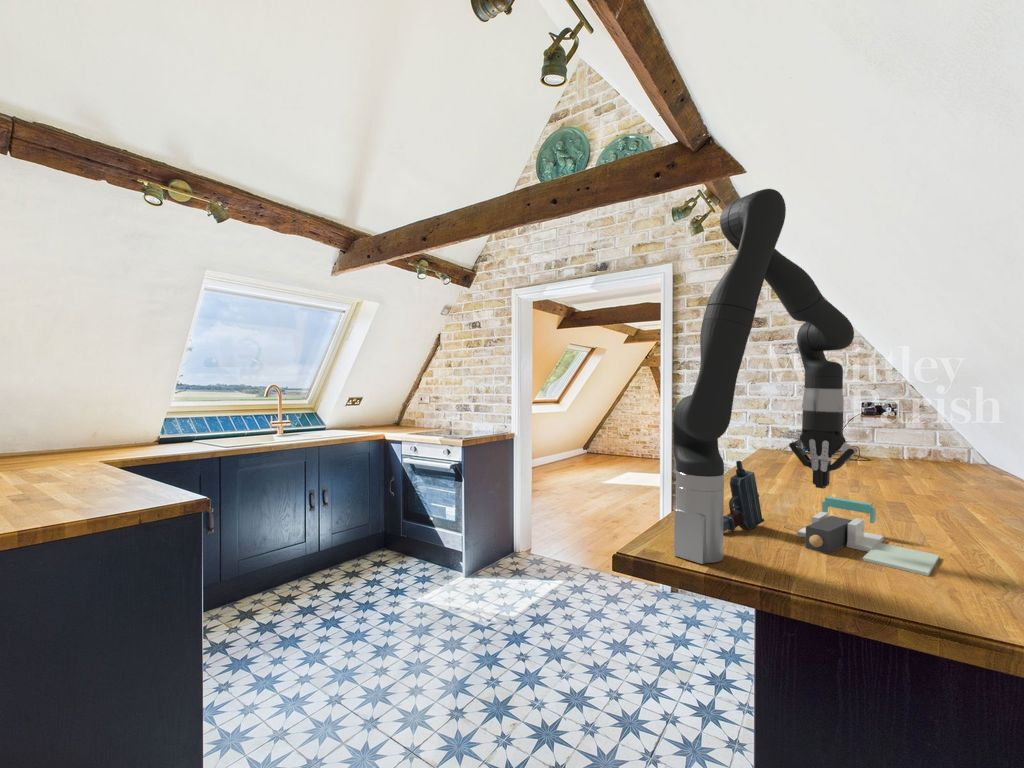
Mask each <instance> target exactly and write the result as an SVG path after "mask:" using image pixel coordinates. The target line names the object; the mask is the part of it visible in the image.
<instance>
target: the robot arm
mask: <svg viewBox="0 0 1024 768" xmlns="http://www.w3.org/2000/svg"><path fill="white" fill-rule="evenodd" d="M785 201H786V200H785V199H784V196H783V194H781V193H780V191H778V190H776V189H773V188H764V189H761V190H757V191H754V192H751V193H750V194H747V195H744V196H743V197H740V198H738V199H736V200H733V201H732V202H729V203H728V204H727V205H725V207H723V209H722V211H721V214H720V218H719V226H720V229H721V232H722V234H723V236H724V237H725V238H726V239H727V241H728V242H729V243H730V244H731V245H732V247H734V248H735V250H736V254H735V256H734V258H733V260H732V262H731V264H730V265H729V267H728V268H727V270H726V271H725V273H724V274H723V275H722V277H721V278H720V280H719V281H718V282H717V284H716V285H715V287H714V288H713V290H712V292H711V294H710V296H709V298H708V300H707V303H706V306H705V310H704V314H703V318H702V323H701V327H700V339H699V340H700V342H699V345H700V346H699V347H700V365H699V366H700V367H699V371H698V375H697V379H696V381H695V385H694V388H693V390H692V394H689V395H687V396H684V397H683V398H681V400H679V401H678V402H677V404H675V407H674V411H673V415H672V416H673V417H672V418H673V419H672V426H673V427H672V438H673V439H672V441H673V444H672V445H673V447H672V448H673V455H674V459H675V471H676V472H675V510H674V514H673V515H674V517H673V519H674V520H673V521H674V522H673V523H674V525H673V529H674V530H673V532H674V533H673V537H674V538H673V556H675V557H678V558H681V559H684V560H687V561H691V562H694V563H697V564H700V565H704V564H711V563H712V564H713V563H719V562H721V561H723V560H724V532H723V516H725V515H724V510H725V509H724V506H725V504H724V503H725V502H724V499H725V498H724V494H725V493H724V492H725V491H724V489H725V462H724V460H723V458H722V456H721V454H720V453H721V452H720V450H719V438H721V437H722V436H724V434H725V433H726V431H727V430H728V428H729V426H730V423H731V418H732V412H733V405H734V397H735V391H736V385H737V380H738V375H739V371H740V368H741V364H742V362H743V358H744V354H745V351H746V348H747V343H748V340H749V337H750V334H751V331H752V327H753V323H754V319H755V315H756V311H757V306H758V302H759V298H760V295H761V291H762V289H763V288H762V287H763V284H764V282H766V283H767V284H768V286H769V287H770V288H771V289H772V290H773V292H774V293H775V294H776V296H777V297H778V299H779V300H780V303H781V304H782V305H783V307H784V309H785V310H786V312H787V313H788V315H789V316H790V317H791V318H792V319H793V320H795V321H797V322H804V323H803V324H801V326H800V327H799V329H798V331H797V334H796V343H797V348H798V351H799V355H800V358H801V362H802V365H803V368H804V386H803V387H804V390H803V397H802V404H801V408H802V423H801V426H802V427H801V433H800V434H799V437H798V438H799V439H797V440H795V441H793V442H789V444H788V447H789V448H790V450H791V451H792V452H793V453H794V455H795V456H796V458H798V461H800V462H801V464H802V465H803V467H808V468H810V469H811V470H812V485H815V486H814V487H815V488H817V489H823V490H824V489H826V488H827V487H828V486H829V485H830V477H831V476H830V475H831V473H830V472H832V471H836V470H839V469H841V468H842V467H843V466H844V465H845V464H846V463H847V462H848V461H849V460H850V459H851V458H852V457H854V455H856V453H857V452H858V449H856V448H855V447H852V446H850V445H849V444H847V443H846V441H847V440H846V438H845V437H844V407H845V406H844V405H845V402H844V401H845V400H844V391H843V389H844V387H843V385H844V369H843V365H842V364H841V363H839V362H836V361H830V360H828V359H827V358H826V354H825V352H826V351H827V352H829V351H840V350H844V349H847V348H848V347H849V346H851V344H852V343H853V340H854V338H855V331H854V329H855V328H854V327H853V324H852V323H851V321H850V320H849V319H848V317H847V316H846V315H845V314H844V313H842V312H841V310H839V309H838V308H837V307H835V306H834V305H833V304H832V303H831V302H830V301H828V300H827V299H826V298H824V296H823V294H822V293H821V291H820V289H819V287H818V286H817V284H816V282H815V281H814V280H813V278H812V277H811V276H810V275H809V273H808V272H807V271H805V270H804V268H802V267H801V266H799V265H798V264H796V263H795V262H793V261H792V260H791V259H790V258H787V257H786V256H784V254H782V253H781V252H780V251H778V250H777V249H776V245H777V244H778V242H779V241H778V240H779V238H780V235H781V233H782V231H783V227H784V223H785V220H786V215H787V214H786V212H787V209H786V208H787V207H786V202H785ZM804 447H805V449H806V450H807V451H808V452H809V455H810V457H809V455H808V453H806V451H805V450H804ZM840 449H841V450H840ZM839 450H840V454H842V455H840V456H839V457H838V458H837V459H836V460H835V461H834V462H833V463H832V461H833V457H834V455H835V454H836V453H838V451H839Z"/></svg>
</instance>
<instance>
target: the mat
mask: <svg viewBox="0 0 1024 768" xmlns="http://www.w3.org/2000/svg"><path fill="white" fill-rule="evenodd" d="M939 560H940V554H935V553H931V552H925V551H921V550H917V549H911V548H907V547H902V546H897V545H892V544H887V543H883V542H881V543H878V544H876V545H875V546H874V547H873V548H872V549H871V550H870V551H869V552H867V553H866V554H865V555H863V557H862V562H868V563H871V564H876V565H880V566H884V567H889V568H893V569H898V570H900V571H905V572H910V573H914V574H917V575H922V576H926V577H929V576H930V574H931V573H932V571H933V570H934V568H935V566H936V564H937V563H938V561H939Z"/></svg>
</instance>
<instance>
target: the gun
mask: <svg viewBox="0 0 1024 768" xmlns="http://www.w3.org/2000/svg"><path fill="white" fill-rule="evenodd" d="M735 463H736V469H735V474H734V475H733V476H730V479H729V488H730V492H731V493H730V494H731V498H730V500H729V501H728V506H729V507H728V508H729V512H730V513H727V514H726V515H723V533H724V532H725V531H727V530H728V531H732V532H733V531H735V530H736V528H737V527H739V528H741V529H745V530H748V531H751V530H752V529H754V528H755V527H757V526H759V525H760V524H762V523H764V522H765V518H763V516H762V510H761V504H760V499H759V498H760V494H759V492H758V485H757V481H756V479H757V478H756V475H755V474H756V473H755V471H750V470H745V469H744V468H743V462H742V460H737V461H735Z"/></svg>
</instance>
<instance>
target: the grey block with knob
mask: <svg viewBox="0 0 1024 768" xmlns="http://www.w3.org/2000/svg"><path fill="white" fill-rule="evenodd" d="M852 520H853V519H849V518H843V517H840V516H835V515H834V516H833V515H830V516H828V517H827V518H825V519H822V520H820V521H817V522H815V523H813V524H811V523H809V524H810V525H809V524H807V525H806V526H805V527H806V538H805V549H807V550H811V551H815V552H818V553H822V554H825V555H826V554H827V555H830V554H833V552H836V551H838V550H839V549H841V548H843V547H845V546H847V540H848V523H850V522H851V521H852Z"/></svg>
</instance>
